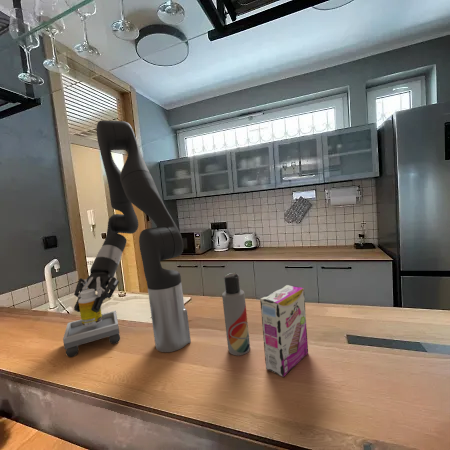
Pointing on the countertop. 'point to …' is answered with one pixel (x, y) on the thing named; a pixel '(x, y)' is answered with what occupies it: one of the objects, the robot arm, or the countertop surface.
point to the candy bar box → (284, 329)
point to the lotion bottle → (235, 316)
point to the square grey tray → (90, 333)
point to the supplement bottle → (89, 308)
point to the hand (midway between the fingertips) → (85, 310)
